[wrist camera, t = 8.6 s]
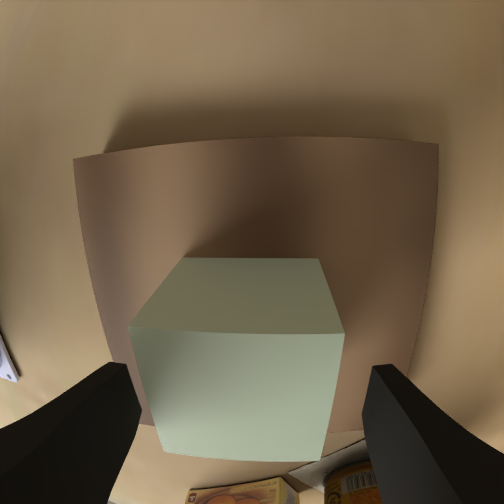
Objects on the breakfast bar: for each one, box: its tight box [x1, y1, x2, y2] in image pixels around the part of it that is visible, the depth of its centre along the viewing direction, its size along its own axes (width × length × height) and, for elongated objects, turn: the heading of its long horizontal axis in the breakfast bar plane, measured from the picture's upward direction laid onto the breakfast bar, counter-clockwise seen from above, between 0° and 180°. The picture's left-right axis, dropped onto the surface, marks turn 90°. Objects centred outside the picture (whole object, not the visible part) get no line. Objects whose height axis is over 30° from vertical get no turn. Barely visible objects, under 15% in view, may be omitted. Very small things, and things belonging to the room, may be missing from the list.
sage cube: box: [128, 257, 345, 462], centre depth 10 cm, size 5×5×5 cm
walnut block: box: [73, 136, 439, 433], centre depth 14 cm, size 14×14×3 cm
